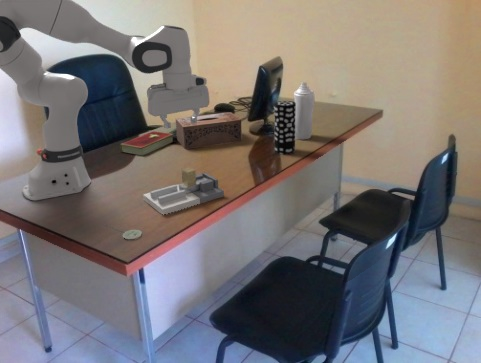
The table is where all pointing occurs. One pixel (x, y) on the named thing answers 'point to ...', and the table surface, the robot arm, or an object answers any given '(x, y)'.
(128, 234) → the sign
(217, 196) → the plate
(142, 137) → the hardcover book
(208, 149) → the table surface
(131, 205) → the table surface
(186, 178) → the bolt
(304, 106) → the spray can
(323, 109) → the table surface
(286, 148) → the white-spotted black cylinder
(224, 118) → the tissue box cover
